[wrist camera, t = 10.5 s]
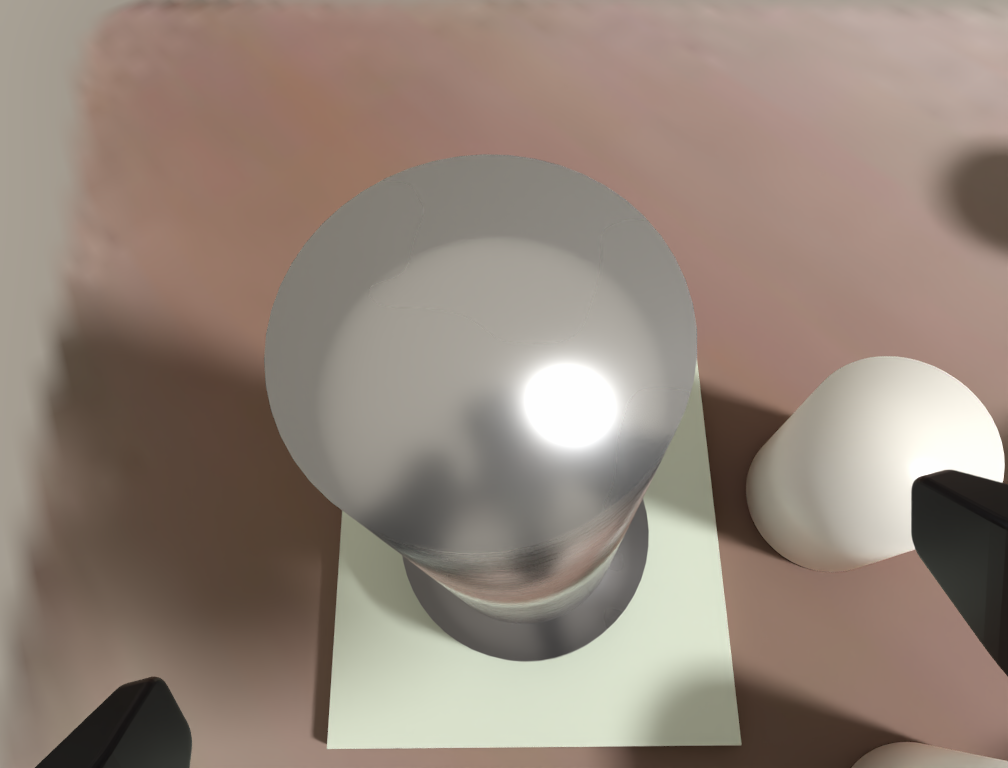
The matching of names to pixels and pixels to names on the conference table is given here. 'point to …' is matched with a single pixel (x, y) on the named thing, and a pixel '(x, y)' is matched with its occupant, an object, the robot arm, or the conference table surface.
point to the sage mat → (556, 682)
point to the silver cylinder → (489, 389)
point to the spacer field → (869, 482)
